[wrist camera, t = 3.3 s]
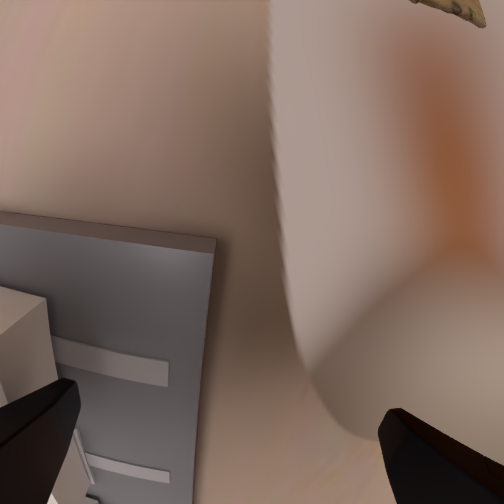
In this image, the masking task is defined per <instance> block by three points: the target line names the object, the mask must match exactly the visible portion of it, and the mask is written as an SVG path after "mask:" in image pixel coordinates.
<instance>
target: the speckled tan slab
mask: <svg viewBox="0 0 504 504" xmlns="http://www.w3.org/2000/svg"><path fill="white" fill-rule="evenodd" d="M409 1H411V2H412V3H414V4H417V3H422V4H424V5H427V6H429V7H433V8H436V9H439V10H442V11H444V12H446V13H450V14H454V15H456V16H458V17H460V18H462V19H463V20H465V21H468V22H470V23H472V24H474V25H475V26H477V27H478V28H485V27H486V22H485V17H484V15H483V11H482V8H481V5H480V2H479V0H409Z"/></svg>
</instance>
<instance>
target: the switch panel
mask: <svg viewBox="0 0 504 504" xmlns="http://www.w3.org/2000/svg"><path fill="white" fill-rule="evenodd" d="M216 242H217V239H214V238H206V237H199V236H191V235H184V234H176V233H169V232H161V231H153V230H145V229H138V228H130V227H122V226H114V225H106V224H98V223H90V222H82V221H74V220H66V219H58V218H50V217H42V216H33V215H25V214H17V213H8V212H0V286H1V287H5V288H8V289H12V290H16V291H20V292H23V293H27V294H31V295H35V296H39V297H43V298H46V302H47V312H48V321H49V329H50V336H51V342H52V349H53V354H54V360H55V365H56V370H57V375H58V379H60V378H63V377H65V378H69V379H72V380H75V381H76V382H77V384H78V389H79V394H80V399H81V410H80V413H79V416H78V419H77V422H76V426H75V429H74V433H73V437H74V440H75V443H76V446H77V449H78V452H79V455H80V458H81V461H82V463H83V466H84V469H85V471H86V474H87V476H88V479H89V481H90V485H89V487H88V490H87V493H86V496H85V497H87V498H91V499H94V500H97V501H98V502H99V504H192V501H193V482H194V465H195V450H196V436H197V423H198V410H199V398H200V387H201V376H202V365H203V355H204V345H205V335H206V326H207V317H208V308H209V299H210V290H211V282H212V274H213V266H214V258H215V250H216Z"/></svg>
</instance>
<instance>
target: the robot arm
mask: <svg viewBox="0 0 504 504" xmlns="http://www.w3.org/2000/svg"><path fill="white" fill-rule="evenodd" d="M80 410H81V399H80V394H79V389H78V384H77V382H76V381H75V380H72V379H69V378H65V377H63V378H60V379H58V380H56V381H54V382H52V383H50V384H48V385H46V386H44V387H42V388H40V389H38V390H36V391H34V392H31V393H29V394H27V395H25V396H23V397H21V398H19V399H17V400H15V401H13V402H11V403H8V404H6V405H4V406H2V407H0V504H47V503H48V500H49V498H50V495H51V492H52V490H53V487H54V485H55V482H56V480H57V477H58V475H59V472H60V470H61V467H62V465H63V462H64V460H65V457H66V455H67V452H68V449H69V446H70V443H71V439H72V436H73V433H74V429H75V426H76V422H77V419H78V416H79V413H80ZM378 437H379V441H380V446H381V450H382V455H383V459H384V464H385V468H386V472H387V476H388V479H389V482H390V485H391V488H392V491H393V494H394V497H395V500H396V503H397V504H504V466H503V465H501V464H499V463H497V462H495V461H493V460H491V459H489V458H487V457H486V456H483V455H482V454H480V453H478V452H476V451H474V450H473V449H471V448H469V447H467V446H465V445H464V444H462V443H460V442H458V441H457V440H455V439H453V438H451V437H449V436H448V435H446V434H444V433H442V432H441V431H439V430H437V429H436V428H434V427H432V426H430V425H429V424H427V423H425V422H424V421H422V420H420V419H418V418H417V417H415V416H413V415H412V414H410V413H408V412H407V411H405V410H403V409H402V408H395V409H389V410H388V411H387V413H386V414H385V416H384V418H383V420H382V422H381V424H380V426H379V428H378Z"/></svg>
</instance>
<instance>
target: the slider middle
mask: <svg viewBox="0 0 504 504" xmlns="http://www.w3.org/2000/svg"><path fill="white" fill-rule="evenodd" d="M89 485H90V481H89V479H88V476H87V474H86V471H85V469H84V466H83V463H82V461H81V458H80V455H79V452H78V449H77V446H76V443H75V440H74V437H73V436H72V439H71V443H70V446H69V449H68V452H67V455H66V457H65V460H64V462H63V465H62V467H61V470H60V472H59V475H58V477H57V480H56V482H55V485H54V487H53V490H52V492H51V495H50V498H49V500H48V503H47V504H83V502H84V499H85V496H86V493H87V490H88V487H89Z"/></svg>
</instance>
